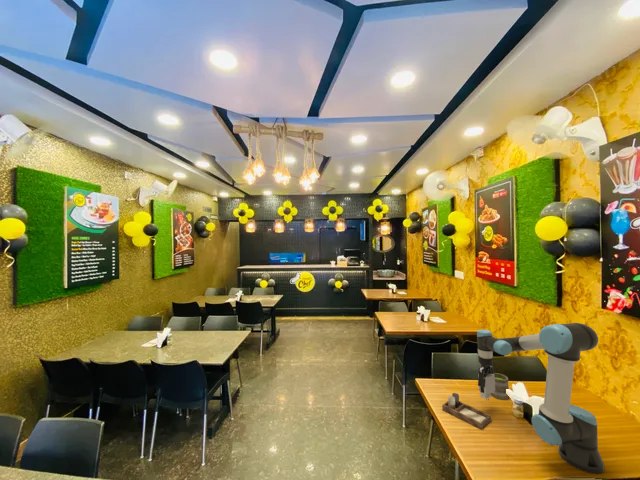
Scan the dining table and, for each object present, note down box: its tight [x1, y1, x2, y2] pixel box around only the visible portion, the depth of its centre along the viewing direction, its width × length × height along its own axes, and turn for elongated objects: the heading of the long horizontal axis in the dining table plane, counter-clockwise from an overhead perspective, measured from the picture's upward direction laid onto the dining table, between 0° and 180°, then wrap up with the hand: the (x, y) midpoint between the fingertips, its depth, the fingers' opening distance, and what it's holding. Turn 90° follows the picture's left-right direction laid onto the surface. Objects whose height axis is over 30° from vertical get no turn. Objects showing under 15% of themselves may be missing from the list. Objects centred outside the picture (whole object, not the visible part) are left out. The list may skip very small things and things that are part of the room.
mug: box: [491, 372, 510, 400], centre depth 180 cm, size 16×11×12 cm
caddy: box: [441, 392, 492, 430], centre depth 157 cm, size 22×12×8 cm, turn 36°
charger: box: [477, 373, 495, 402], centre depth 162 cm, size 5×9×15 cm, turn 112°
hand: (487, 394), depth 162 cm, fingers closed on charger, 10 cm apart
